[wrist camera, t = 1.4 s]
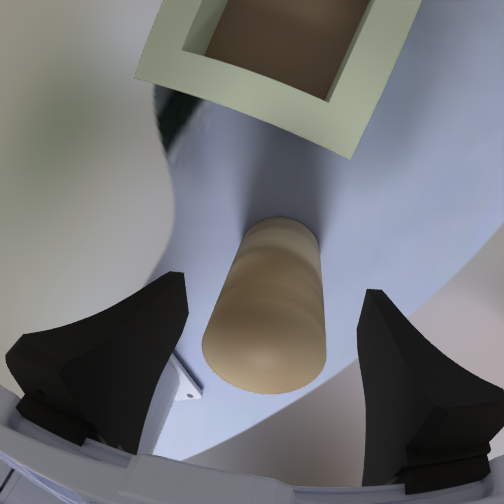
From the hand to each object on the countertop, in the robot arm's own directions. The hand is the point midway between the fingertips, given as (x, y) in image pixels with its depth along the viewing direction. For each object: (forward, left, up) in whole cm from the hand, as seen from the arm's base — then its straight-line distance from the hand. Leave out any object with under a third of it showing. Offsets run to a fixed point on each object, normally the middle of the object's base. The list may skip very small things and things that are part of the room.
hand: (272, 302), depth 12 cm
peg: (0, 0, -4) cm, 4 cm away
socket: (+4, +10, -4) cm, 12 cm away
